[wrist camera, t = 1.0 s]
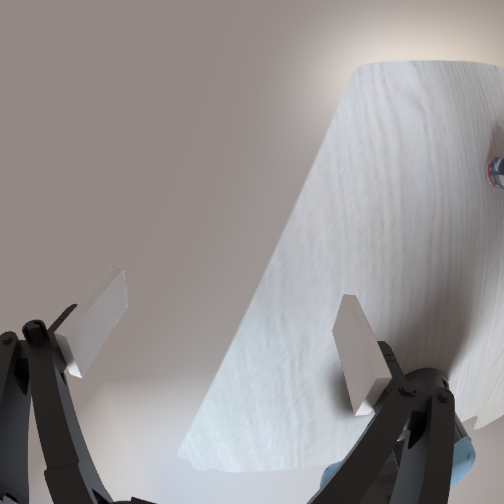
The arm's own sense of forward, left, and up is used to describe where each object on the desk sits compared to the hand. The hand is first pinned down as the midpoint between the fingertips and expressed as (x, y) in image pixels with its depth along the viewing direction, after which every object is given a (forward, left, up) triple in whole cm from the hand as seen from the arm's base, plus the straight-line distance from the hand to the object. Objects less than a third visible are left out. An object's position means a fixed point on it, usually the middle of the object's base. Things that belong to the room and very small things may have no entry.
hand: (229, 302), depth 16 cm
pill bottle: (+9, -41, -26) cm, 49 cm away
